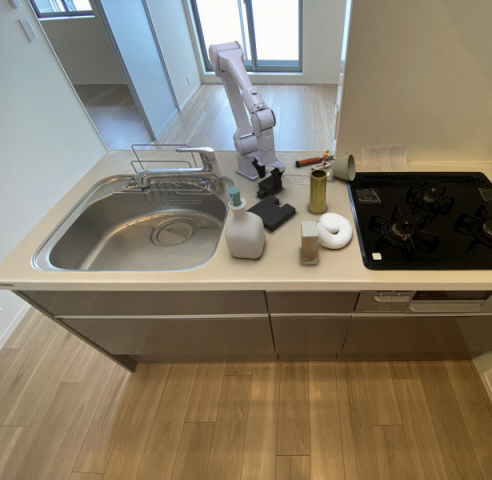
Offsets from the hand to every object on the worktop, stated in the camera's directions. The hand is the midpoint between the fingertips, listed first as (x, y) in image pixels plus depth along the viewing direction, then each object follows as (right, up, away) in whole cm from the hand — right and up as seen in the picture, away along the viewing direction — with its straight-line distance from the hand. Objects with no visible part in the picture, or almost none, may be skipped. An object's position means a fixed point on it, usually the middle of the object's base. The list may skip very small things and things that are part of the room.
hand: (270, 181), depth 103 cm
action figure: (+21, +6, +11) cm, 24 cm away
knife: (+22, +12, +14) cm, 29 cm away
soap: (+19, +8, +14) cm, 25 cm away
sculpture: (+22, -20, -13) cm, 32 cm away
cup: (+24, +7, +8) cm, 26 cm away
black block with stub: (-1, -3, +2) cm, 4 cm away
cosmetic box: (+14, -27, -20) cm, 36 cm away
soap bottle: (-4, -24, -17) cm, 30 cm away
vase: (+17, -10, -4) cm, 21 cm away
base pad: (+1, -13, -7) cm, 15 cm away
